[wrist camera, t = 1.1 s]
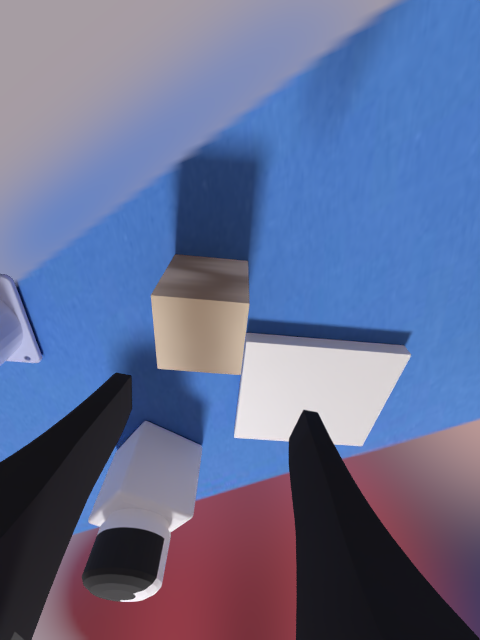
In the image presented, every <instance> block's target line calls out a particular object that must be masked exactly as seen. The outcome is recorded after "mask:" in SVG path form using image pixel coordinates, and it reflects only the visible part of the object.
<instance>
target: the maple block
mask: <svg viewBox="0 0 480 640" xmlns="http://www.w3.org/2000/svg"><path fill="white" fill-rule="evenodd" d="M151 301H152V312H153V323H154V334H155V345H156V356H157V367H158V369H167V370H180V371H194V372H207V373H221V374H234V375H241V367H242V359H243V351H244V343H245V335H246V327H247V319H248V311H249V275H248V261H244V260H233V259H222V258H211V257H199V256H188V255H177V254H175V255H174V257H173V259H172V260H171V262H170V264H169V266H168V267H167V269H166V271H165V272H164V274H163V276H162V277H161V279H160V281H159V282H158V284H157V286H156V288H155V289H154V291H153V293H152V294H151Z"/></svg>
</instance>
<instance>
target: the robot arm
mask: <svg viewBox="0 0 480 640" xmlns="http://www.w3.org/2000/svg"><path fill="white" fill-rule="evenodd" d="M41 360H42V355H41V352H40V350H39V347H38V344H37V342H36V339H35V336H34V334H33V331H32V328H31V326H30V323H29V320H28V318H27V315H26V312H25V310H24V307H23V304H22V301H21V299H20V296H19V293H18V291H17V288H16V285H15V283H14V281H13V279H12V278H11V277H10V276H8V275H5V274H0V365H2V364H3V363H4V362H5V361H15V362H28V363H39V362H40V361H41ZM131 410H132V377H131V375H126V374H121V373H115V374H114V375H112V376H111V377H110V378H109V379H108V380H107V381H106V382H105V383H104V384H103V385H102V386H101V387H99V388H98V389H97V390H96V391H95V392H94V393H93V394H92V395H90V396H89V397H88V398H87V399H86V400H85V401H83V402H82V403H81V404H80V405H79V406H77V407H76V408H75V409H74V410H73V411H71V412H70V413H69V414H68V415H67V416H65V417H64V418H63V419H61V420H60V421H59V422H58V423H56V424H55V425H54V426H52V427H51V428H50V429H48V430H47V431H46V432H44V433H43V434H42V435H40V436H39V437H37V438H36V439H35V440H33V441H32V442H30V443H29V444H28V445H26V446H25V447H23V448H22V449H20V450H19V451H17V452H16V453H14V454H13V455H11V456H10V457H8V458H6V459H5V460H3V461H2V462H0V640H32V637H33V634H34V631H35V629H36V626H37V623H38V621H39V618H40V615H41V613H42V610H43V607H44V605H45V602H46V599H47V597H48V594H49V591H50V589H51V586H52V584H53V581H54V579H55V576H56V574H57V571H58V568H59V566H60V564H61V561H62V558H63V556H64V554H65V551H66V549H67V546H68V544H69V541H70V539H71V537H72V534H73V532H74V529H75V527H76V525H77V522H78V520H79V518H80V515H81V513H82V511H83V508H84V506H85V504H86V501H87V499H88V497H89V495H90V493H91V491H92V489H93V487H94V485H95V483H96V481H97V479H98V478H99V476H100V474H101V472H102V470H103V468H104V466H105V464H106V463H107V461H108V459H109V457H110V455H111V453H112V451H113V449H114V448H115V446H116V444H117V442H118V440H119V438H120V436H121V434H122V432H123V430H124V427H125V425H126V423H127V420H128V417H129V415H130V412H131ZM289 471H290V480H291V490H292V500H293V509H294V518H295V530H296V562H297V611H296V612H297V613H296V640H479V638H478V637H477V635H476V634H474V632H473V631H472V630H471V629H470V628H469V627H468V626H467V625H466V624H465V622H464V621H463V620H462V619H461V618H460V617H459V616H458V615H457V614H456V613H455V612H454V611H453V609H452V608H451V607H450V606H449V605H448V604H447V603H446V602H445V601H444V600H443V599H442V598H441V596H440V595H439V594H438V593H437V592H436V591H435V589H434V588H433V587H432V586H431V585H430V583H429V582H428V581H427V580H426V579H425V578H424V577H423V575H422V574H421V573H420V572H419V571H418V569H417V568H416V567H415V566H414V565H413V563H412V562H411V560H410V559H409V558H408V557H407V555H406V554H405V553H404V552H403V550H402V549H401V548H400V547H399V545H398V544H397V543H396V541H395V540H394V539H393V538H392V536H391V535H390V534H389V532H388V531H387V529H386V528H385V527H384V525H383V524H382V523H381V521H380V520H379V518H378V517H377V515H376V514H375V512H374V511H373V510H372V508H371V507H370V505H369V504H368V502H367V501H366V499H365V497H364V496H363V494H362V493H361V491H360V489H359V488H358V486H357V484H356V483H355V481H354V480H353V478H352V476H351V475H350V473H349V471H348V469H347V468H346V466H345V464H344V462H343V460H342V458H341V457H340V455H339V453H338V451H337V449H336V447H335V445H334V444H333V442H332V440H331V438H330V436H329V434H328V432H327V430H326V428H325V426H324V424H323V422H322V420H321V418H320V416H319V414H318V412H314V411H308V410H303V411H302V413H301V415H300V417H299V419H298V421H297V423H296V425H295V427H294V429H293V431H292V433H291V435H290V437H289Z"/></svg>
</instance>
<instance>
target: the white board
mask: <svg viewBox="0 0 480 640" xmlns="http://www.w3.org/2000/svg"><path fill="white" fill-rule="evenodd" d="M410 356H411V354H410V352H409V351H408V350H407V349H406V347H405V346H404V345H392V344H380V343H367V342H355V341H343V340H330V339H318V338H305V337H293V336H281V335H268V334H256V333H246V340H245V348H244V356H243V364H242V372H241V380H240V388H239V396H238V403H237V411H236V419H235V427H234V438H246V439H261V440H276V441H289V437H290V435H291V433H292V431H293V429H294V427H295V425H296V423H297V421H298V419H299V417H300V415H301V413H302V411H303V410H308V411H314V412H318V414H319V416H320V418H321V420H322V422H323V424H324V426H325V428H326V430H327V432H328V434H329V436H330V438H331V440H332V442H333V444H337V445H352V446H362V445H363V443H364V442H365V440H366V438H367V436H368V434H369V432H370V431H371V429H372V427H373V425H374V423H375V421H376V419H377V418H378V416H379V414H380V412H381V410H382V408H383V406H384V405H385V403H386V401H387V399H388V397H389V395H390V393H391V392H392V390H393V388H394V386H395V384H396V382H397V381H398V379H399V377H400V375H401V373H402V371H403V369H404V368H405V366H406V364H407V362H408V360H409V358H410Z"/></svg>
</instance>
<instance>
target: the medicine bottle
mask: <svg viewBox="0 0 480 640" xmlns="http://www.w3.org/2000/svg"><path fill="white" fill-rule="evenodd" d="M201 454H202V446H201V445H199V444H197V443H195V442H193V441H191V440H188V439H186V438H184V437H182V436H179V435H177V434H175V433H173V432H171V431H168V430H166V429H164V428H162V427H159V426H157V425H155V424H153V423H151V422H148V421H144V422H143V423H142V424H141V425H140V426H139V427H138V428H137V430H136V431H135V432H134V433H133V434H132V435H131V436H130V437H129V438H128V439H127V440H126V442H125V443H124V444H123V445H122V446H121V447H120V448H119V449H118V450H117V452H116V453H115V456H114V458H113V461H112V463H111V465H110V468H109V470H108V473H107V475H106V478H105V480H104V482H103V485H102V487H101V490H100V492H99V495H98V497H97V500H96V502H95V504H94V507H93V509H92V512H91V514H90V517H89V523H90V524H94V525H97V526H100V529H99V532H98V534H97V537H96V540H95V543H94V545H93V548H92V551H91V553H90V556H89V559H88V561H87V564H86V567H85V569H84V572H83V575H82V580H83V584H84V586H85V587H86V588H87V589H88V590H89V591H90V592H91V593H92V594H93V595H95V596H97V597H100V598H103V599H107V600H112V601H121V602H133V601H140V600H144V599H146V598H148V597H150V596H152V595H154V594H155V593H156V592H157V591H158V590H159V589H160V587H161V586H162V580H163V575H164V570H165V564H166V559H167V554H168V548H169V543H170V537H171V534H170V532H171V531H173V530H174V529H176V528H178V527H179V526H181V525H182V524H184V523H185V522H187V521H188V520H189V519H191V518H192V516H193V513H194V506H195V498H196V491H197V484H198V476H199V469H200V462H201Z"/></svg>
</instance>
